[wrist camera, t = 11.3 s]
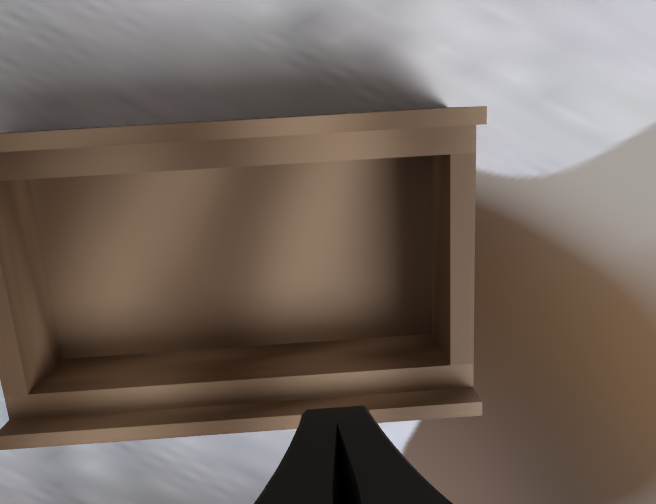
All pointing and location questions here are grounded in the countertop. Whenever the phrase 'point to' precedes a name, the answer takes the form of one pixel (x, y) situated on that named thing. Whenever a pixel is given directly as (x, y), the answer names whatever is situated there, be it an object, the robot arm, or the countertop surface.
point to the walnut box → (236, 274)
